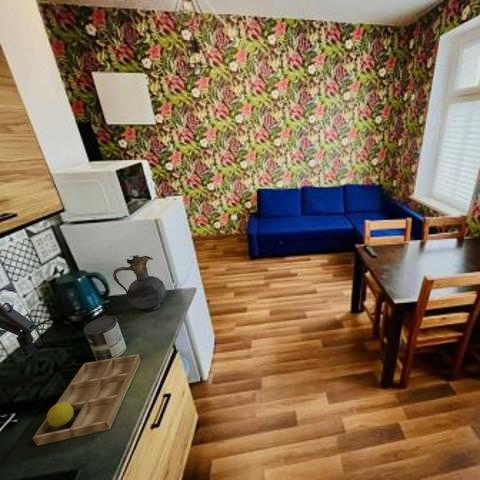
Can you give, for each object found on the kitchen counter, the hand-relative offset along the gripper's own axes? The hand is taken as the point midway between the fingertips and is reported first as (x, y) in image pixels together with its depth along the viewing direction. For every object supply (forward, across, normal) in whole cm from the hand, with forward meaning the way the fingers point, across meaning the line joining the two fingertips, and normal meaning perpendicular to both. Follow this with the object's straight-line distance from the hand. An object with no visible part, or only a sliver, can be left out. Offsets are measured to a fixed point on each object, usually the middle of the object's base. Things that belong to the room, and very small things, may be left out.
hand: (1, 357), depth 74 cm
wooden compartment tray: (+25, -15, -3) cm, 29 cm away
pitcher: (+25, -16, -52) cm, 60 cm away
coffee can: (+25, -11, -24) cm, 36 cm away
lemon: (+24, -11, +6) cm, 27 cm away
